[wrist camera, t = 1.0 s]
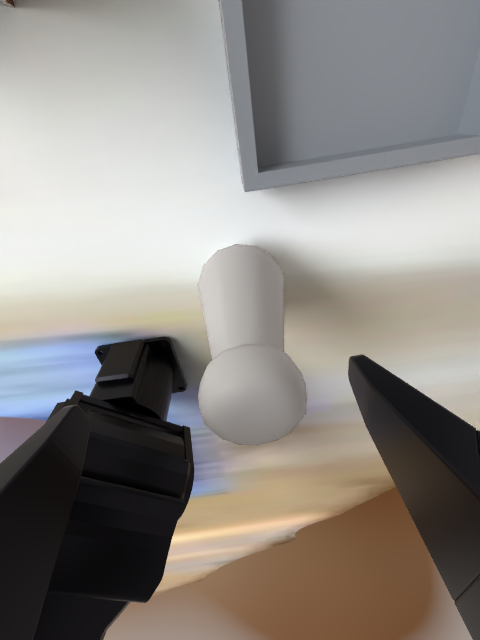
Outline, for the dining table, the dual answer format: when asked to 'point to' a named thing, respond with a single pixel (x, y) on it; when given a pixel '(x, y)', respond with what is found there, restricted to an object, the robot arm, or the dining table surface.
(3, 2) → the food container
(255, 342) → the salt shaker
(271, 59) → the bin
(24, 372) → the dining table surface
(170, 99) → the dining table surface
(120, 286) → the dining table surface
